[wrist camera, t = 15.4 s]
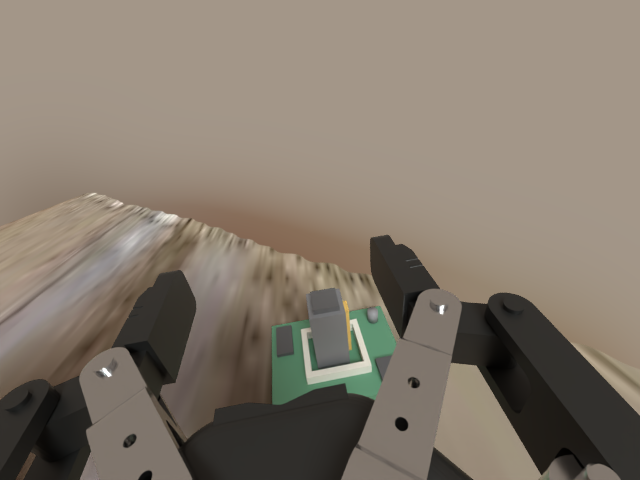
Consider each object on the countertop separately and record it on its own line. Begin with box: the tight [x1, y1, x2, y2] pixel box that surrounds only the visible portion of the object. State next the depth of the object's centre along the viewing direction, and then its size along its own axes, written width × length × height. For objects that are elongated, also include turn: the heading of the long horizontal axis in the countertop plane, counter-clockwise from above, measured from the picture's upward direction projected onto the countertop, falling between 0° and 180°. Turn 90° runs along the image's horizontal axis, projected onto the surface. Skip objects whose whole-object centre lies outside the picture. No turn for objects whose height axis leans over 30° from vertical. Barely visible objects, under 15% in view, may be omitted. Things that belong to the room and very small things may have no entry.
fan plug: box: [306, 288, 352, 370], centre depth 39 cm, size 5×4×11 cm
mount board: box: [272, 306, 396, 405], centre depth 42 cm, size 18×14×3 cm
